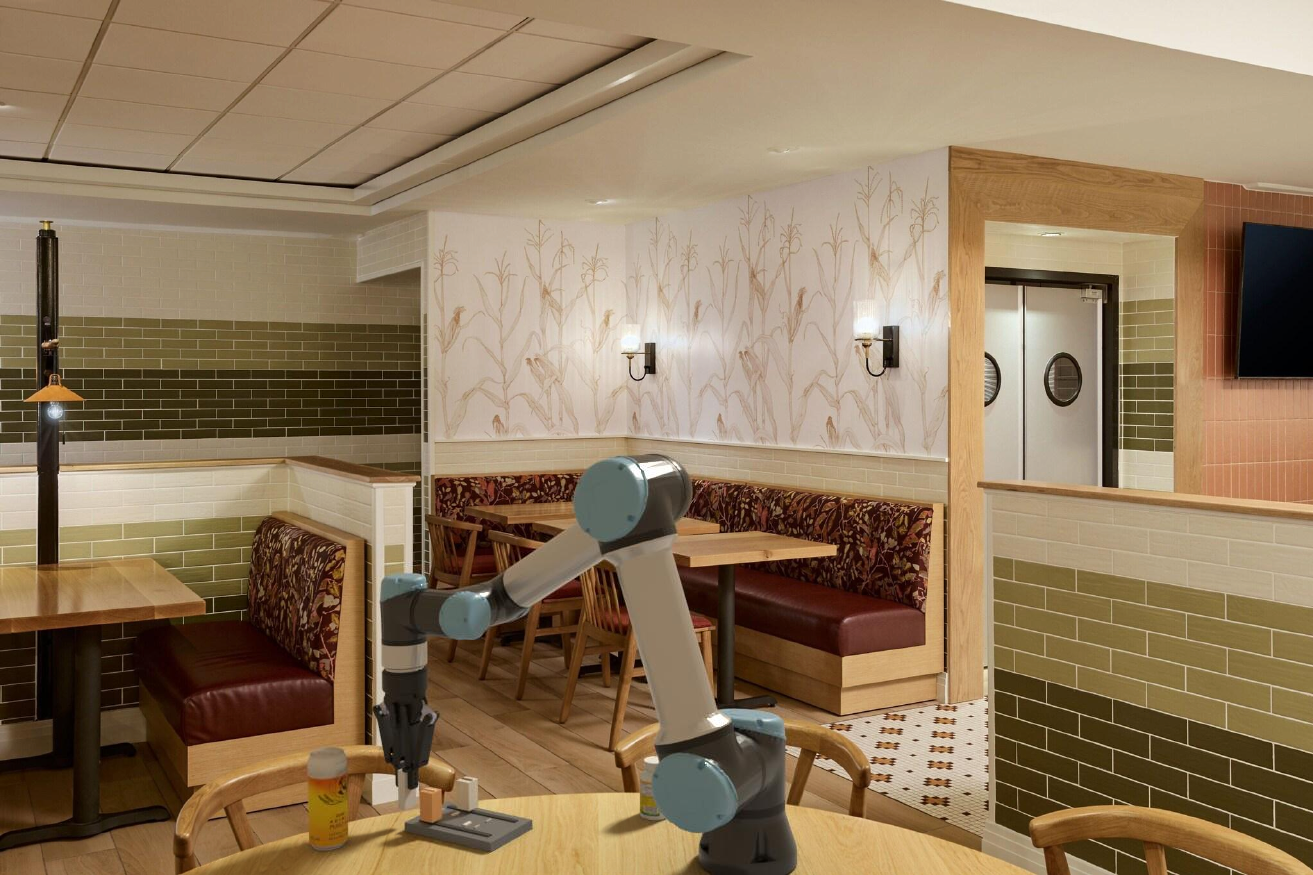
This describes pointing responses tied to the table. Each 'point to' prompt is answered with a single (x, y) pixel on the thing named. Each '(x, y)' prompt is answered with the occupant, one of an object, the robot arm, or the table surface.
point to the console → (471, 827)
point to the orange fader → (430, 804)
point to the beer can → (327, 798)
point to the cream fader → (467, 793)
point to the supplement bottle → (648, 791)
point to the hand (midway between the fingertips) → (407, 806)
